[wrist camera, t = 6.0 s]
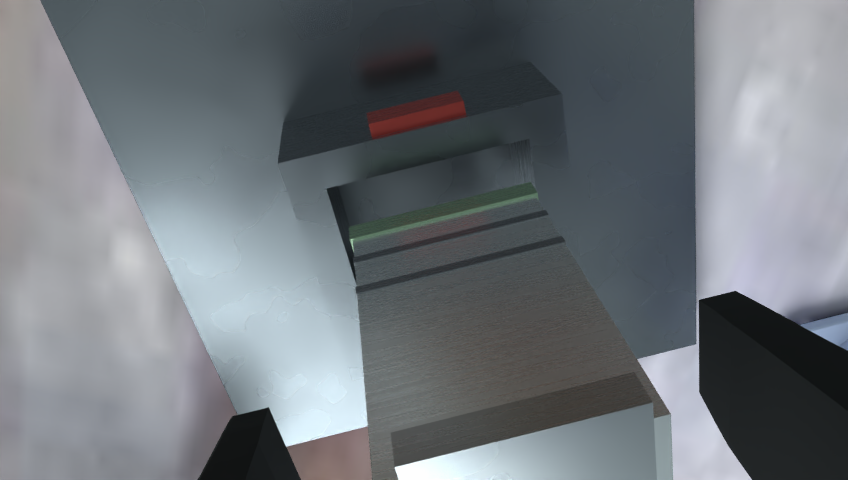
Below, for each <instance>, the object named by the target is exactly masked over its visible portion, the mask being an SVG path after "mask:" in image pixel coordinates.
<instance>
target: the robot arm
mask: <svg viewBox="0 0 848 480" xmlns="http://www.w3.org/2000/svg"><path fill="white" fill-rule="evenodd" d="M699 392H700V394H701V396H702V398H703V400H704V402H705V404H706V406H707V408H708V409H709V411H710V413H711V415H712V417H713V419H714V421H715V423H716V424H717V426H718V428H719V430H720V432H721V433H722V435H723V437H724V439H725V441H726V442H727V444H728V446H729V447H730V449H731V450H732V452H733V453H734V455H735V456H736V458H737V459H738V460H739V462H740V463H741V465H742V466H743V467H744V469H745V470H746V472H747V473H748V474H749V476H750V477H751V479H752V480H848V313H845V314H841V315H837V316H833V317H829V318H825V319H821V320H817V321H813V322H809V323H805V324H801V325H798V324H796V323H795V322H793V321H791V320H789V319H787V318H785V317H783V316H782V315H780V314H778V313H776V312H774V311H772V310H771V309H769V308H767V307H765V306H763V305H761V304H760V303H758V302H756V301H754V300H752V299H750V298H748V297H746V296H744V295H742V294H740V293H738V292H736V291H733V292H729V293H725V294H721V295H717V296H713V297H709V298H705V299H701V300H699ZM198 480H301V479H300V477H299V475H298V472H297V470H296V468H295V466H294V463H293V461H292V459H291V457H290V454H289V452H288V450H287V448H286V445H285V443H284V441H283V438H282V436H281V434H280V432H279V429H278V427H277V425H276V423H275V420H274V418H273V416H272V413H271V411H270V409H269V407H268V408H264V409H260V410H256V411H252V412H248V413H244V414H240V415H236V416H232V418H231V419H230V421H229V422H228V424H227V426H226V428H225V430H224V431H223V433H222V435H221V437H220V439H219V441H218V443H217V445H216V447H215V448H214V450H213V452H212V454H211V456H210V458H209V460H208V462H207V464H206V465H205V467H204V469H203V471H202V473H201V475H200V477H199V478H198Z"/></svg>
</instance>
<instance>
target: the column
mask: <svg viewBox="0 0 848 480" xmlns="http://www.w3.org/2000/svg"><path fill="white" fill-rule="evenodd" d="M349 237H350V242H351V245H352V248H353V252H354V257H353V263H354V267H355V273H356V286H357V287H355V291H356V296H357V299H358V311H359V323H360V335H361V348H362V360H363V373H364V385H365V398H366V410H367V422H368V435H369V447H370V460H371V472H372V480H673V464H672V435H671V414H670V412H669V410H668V409H667V407H666V406H665V404H664V402H663V401H662V399H661V398H660V396H659V394H658V393H657V391H656V389H655V388H654V386H653V385H652V383H651V381H650V380H649V378H648V377H647V375H646V373H645V372H644V370H643V368H642V367H641V365H640V364H639V362H638V360H637V359H636V357H635V356H634V354H633V352H632V351H631V349H630V348H629V346H628V344H627V343H626V341H625V339H624V338H623V336H622V335H621V333H620V331H619V330H618V328H617V327H616V325H615V323H614V322H613V320H612V318H611V317H610V315H609V314H608V312H607V310H606V309H605V307H604V306H603V304H602V302H601V301H600V299H599V298H598V296H597V294H596V293H595V291H594V289H593V288H592V286H591V285H590V283H589V281H588V280H587V278H586V277H585V275H584V273H583V272H582V270H581V268H580V267H579V265H578V264H577V262H576V260H575V259H574V257H573V256H572V254H571V252H570V251H569V249H568V247H567V246H566V241H565V240H564V238H563V237H562V236H560V235H559V233H558V231H557V230H556V228H555V227H554V225H553V223H552V222H551V220H550V218H549V214H548V213H547V211H546V210H544V209H543V207H542V206H541V204H540V202H539V200H538V193H537V191H536V189H535V188H534V186H533V185H532V183H531V182H528V183H524V184H520V185H516V186H512V187H508V188H504V189H500V190H496V191H492V192H488V193H484V194H480V195H476V196H472V197H468V198H463V199H459V200H455V201H451V202H447V203H443V204H439V205H435V206H431V207H427V208H423V209H419V210H415V211H411V212H407V213H403V214H399V215H395V216H391V217H387V218H383V219H379V220H374V221H370V222H366V223H362V224H358V225H354V226H350V227H349Z"/></svg>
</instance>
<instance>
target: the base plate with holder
mask: <svg viewBox="0 0 848 480" xmlns="http://www.w3.org/2000/svg"><path fill="white" fill-rule="evenodd" d="M41 2H42V5H43V7H44V9H45V11H46V13H47V15H48V17H49V19H50V21H51V24H52V26H53V28H54V30H55V32H56V34H57V36H58V38H59V40H60V42H61V45H62V47H63V49H64V51H65V53H66V55H67V57H68V59H69V61H70V63H71V66H72V68H73V70H74V72H75V74H76V76H77V78H78V80H79V82H80V84H81V87H82V89H83V91H84V93H85V95H86V97H87V99H88V101H89V103H90V106H91V108H92V110H93V112H94V114H95V116H96V118H97V120H98V122H99V124H100V127H101V129H102V131H103V133H104V135H105V137H106V139H107V141H108V143H109V145H110V148H111V150H112V152H113V154H114V156H115V158H116V160H117V162H118V164H119V166H120V169H121V171H122V173H123V175H124V177H125V179H126V181H127V183H128V185H129V188H130V190H131V192H132V194H133V196H134V198H135V200H136V202H137V204H138V206H139V209H140V211H141V213H142V215H143V217H144V219H145V221H146V223H147V225H148V227H149V230H150V232H151V234H152V236H153V238H154V240H155V242H156V244H157V246H158V248H159V251H160V253H161V255H162V257H163V259H164V261H165V263H166V265H167V267H168V270H169V272H170V274H171V276H172V278H173V280H174V282H175V284H176V286H177V288H178V291H179V293H180V295H181V297H182V299H183V301H184V303H185V305H186V307H187V309H188V312H189V314H190V316H191V318H192V320H193V322H194V324H195V326H196V328H197V330H198V333H199V335H200V337H201V339H202V341H203V343H204V345H205V347H206V349H207V351H208V354H209V356H210V358H211V360H212V362H213V364H214V366H215V368H216V370H217V373H218V375H219V377H220V379H221V381H222V383H223V385H224V387H225V389H226V391H227V394H228V396H229V398H230V400H231V402H232V404H233V406H234V408H235V410H236V412H237V415H240V414H244V413H248V412H252V411H256V410H260V409H264V408H268V407H269V409H270V411H271V413H272V416H273V418H274V420H275V423H276V425H277V427H278V429H279V432H280V434H281V436H282V438H283V441H284V443H285V445H286V446H290V445H294V444H298V443H302V442H306V441H310V440H314V439H318V438H322V437H326V436H330V435H334V434H338V433H342V432H346V431H350V430H354V429H358V428H362V427H366V426H368V422H367V410H366V398H365V385H364V373H363V360H362V348H361V335H360V323H359V311H358V299H357V296H356V291H355V287H357V286H356V273H355V267H354V263H353V257H354V252H353V248H352V245H351V242H350V237H349V227H350V226H354V225H358V224H362V223H366V222H370V221H374V220H379V219H383V218H387V217H391V216H395V215H399V214H403V213H407V212H411V211H415V210H419V209H423V208H427V207H431V206H435V205H439V204H443V203H447V202H451V201H455V200H459V199H463V198H468V197H472V196H476V195H480V194H484V193H488V192H492V191H496V190H500V189H504V188H508V187H512V186H516V185H520V184H524V183H528V182H531V183H532V185H533V186H534V188H535V189H536V191H537V193H538V200H539V202H540V204H541V206H542V207H543V209H544V210H546V211H547V213H548V214H549V218H550V220H551V222H552V223H553V225H554V227H555V228H556V230H557V231H558V233H559V235H560V236H562V237H563V238H564V240H565V241H566V246H567V247H568V249H569V251H570V252H571V254H572V256H573V257H574V259H575V260H576V262H577V264H578V265H579V267H580V268H581V270H582V272H583V273H584V275H585V277H586V278H587V280H588V281H589V283H590V285H591V286H592V288H593V289H594V291H595V293H596V294H597V296H598V298H599V299H600V301H601V302H602V304H603V306H604V307H605V309H606V310H607V312H608V314H609V315H610V317H611V318H612V320H613V322H614V323H615V325H616V327H617V328H618V330H619V331H620V333H621V335H622V336H623V338H624V339H625V341H626V343H627V344H628V346H629V348H630V349H631V351H632V352H633V354H634V356H635V357H636V359H639V358H643V357H647V356H651V355H655V354H659V353H663V352H667V351H671V350H675V349H679V348H683V347H687V346H691V345H695V344H696V230H695V90H694V0H41Z"/></svg>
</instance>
